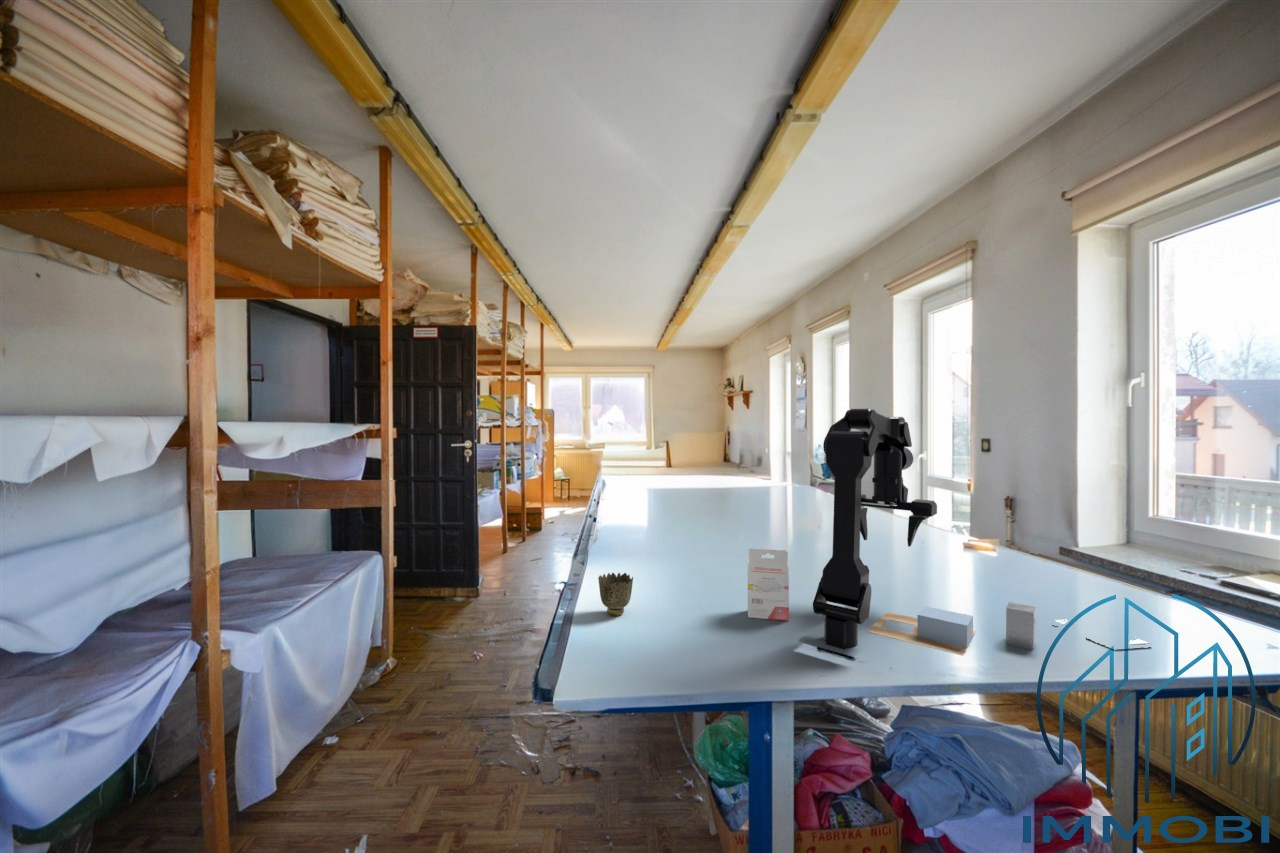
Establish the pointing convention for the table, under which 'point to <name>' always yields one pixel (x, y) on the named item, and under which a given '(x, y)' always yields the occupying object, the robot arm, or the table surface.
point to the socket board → (912, 633)
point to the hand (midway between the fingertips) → (887, 543)
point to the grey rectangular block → (1020, 625)
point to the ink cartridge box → (768, 585)
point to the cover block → (945, 626)
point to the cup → (615, 592)
